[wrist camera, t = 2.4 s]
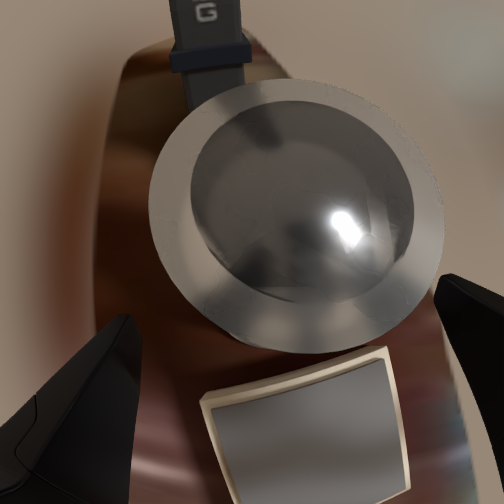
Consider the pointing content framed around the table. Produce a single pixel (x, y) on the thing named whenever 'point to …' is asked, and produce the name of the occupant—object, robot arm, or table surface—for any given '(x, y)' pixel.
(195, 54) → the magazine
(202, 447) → the table surface
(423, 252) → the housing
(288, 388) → the stand
